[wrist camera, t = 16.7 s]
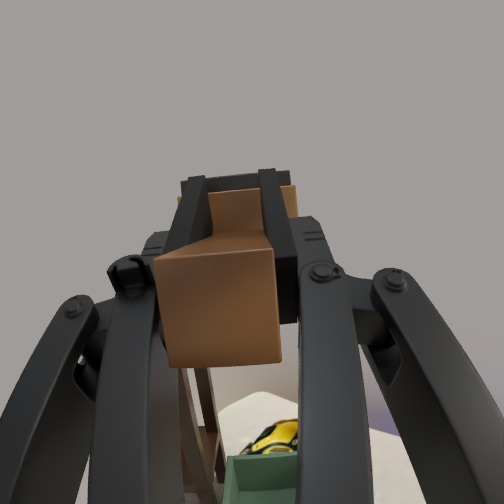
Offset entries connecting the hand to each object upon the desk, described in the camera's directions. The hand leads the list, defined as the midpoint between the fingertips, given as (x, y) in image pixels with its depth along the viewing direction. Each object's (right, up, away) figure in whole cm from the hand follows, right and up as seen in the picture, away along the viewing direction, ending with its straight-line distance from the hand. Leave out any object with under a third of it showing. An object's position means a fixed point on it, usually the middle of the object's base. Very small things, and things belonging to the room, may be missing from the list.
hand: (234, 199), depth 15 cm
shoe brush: (0, -4, 0) cm, 4 cm away
